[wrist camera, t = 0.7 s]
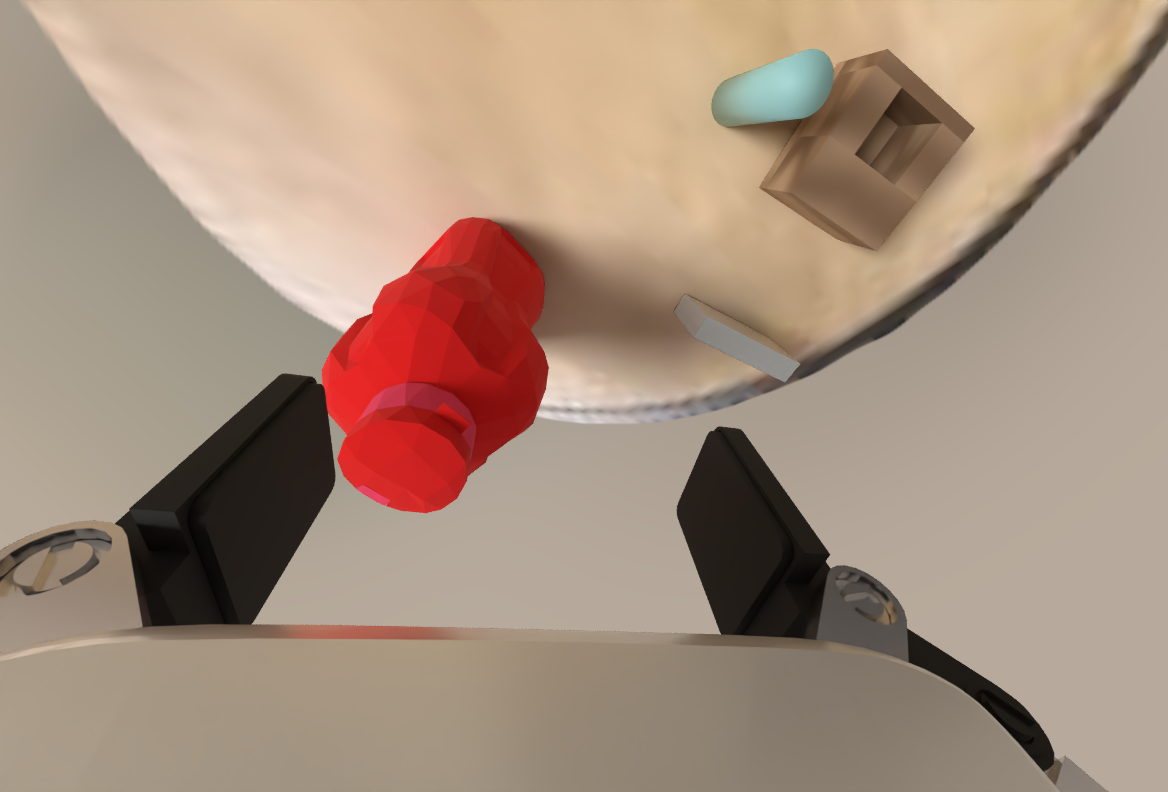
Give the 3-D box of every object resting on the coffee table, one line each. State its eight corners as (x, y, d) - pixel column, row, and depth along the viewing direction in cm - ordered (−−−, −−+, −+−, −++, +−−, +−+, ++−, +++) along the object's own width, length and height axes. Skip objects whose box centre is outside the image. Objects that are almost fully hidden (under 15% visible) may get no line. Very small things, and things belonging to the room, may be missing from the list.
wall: (684, 293, 38) (707, 316, 33) (767, 336, 41) (800, 363, 36) (673, 312, 39) (693, 337, 34) (754, 353, 42) (785, 382, 37)
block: (837, 63, 30) (887, 49, 26) (917, 131, 33) (974, 128, 29) (759, 187, 34) (791, 192, 30) (836, 239, 37) (876, 251, 32)
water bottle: (390, 290, 35) (165, 506, 14) (479, 196, 32) (364, 288, 11) (474, 361, 40) (398, 614, 18) (559, 283, 36) (590, 475, 15)
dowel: (727, 68, 30) (804, 35, 21) (759, 92, 31) (845, 70, 22) (703, 113, 31) (766, 99, 22) (734, 135, 32) (807, 129, 23)
